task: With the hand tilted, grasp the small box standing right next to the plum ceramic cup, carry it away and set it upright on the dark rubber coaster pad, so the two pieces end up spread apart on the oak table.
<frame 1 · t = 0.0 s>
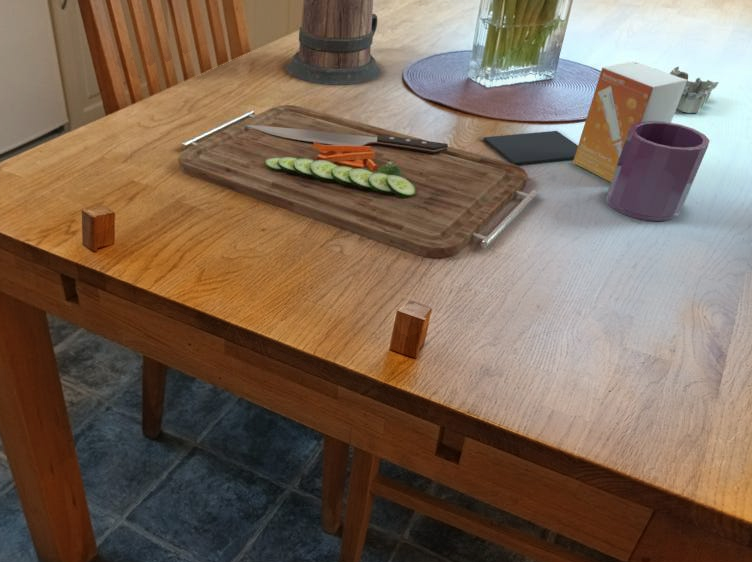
tankard: (341, 65, 131), on the table
plum cup: (642, 204, 90), on the table
small box: (610, 172, 97), on the table
egg carton: (681, 103, 119), on the table
coaster pad: (536, 148, 103), on the table
chopping board: (349, 174, 95), on the table
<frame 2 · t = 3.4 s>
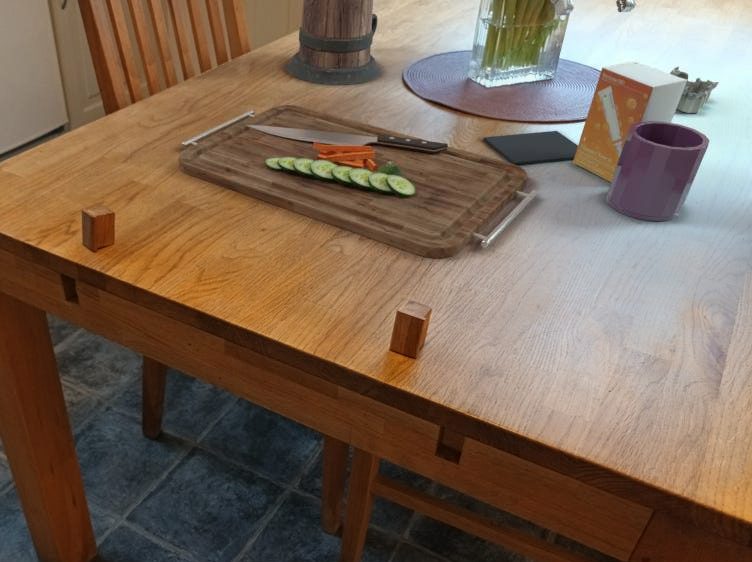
hand: (596, 11, 95), 17 cm above the table, tool tilted 45°, fingers open, 8 cm apart
nothing on the table moved.
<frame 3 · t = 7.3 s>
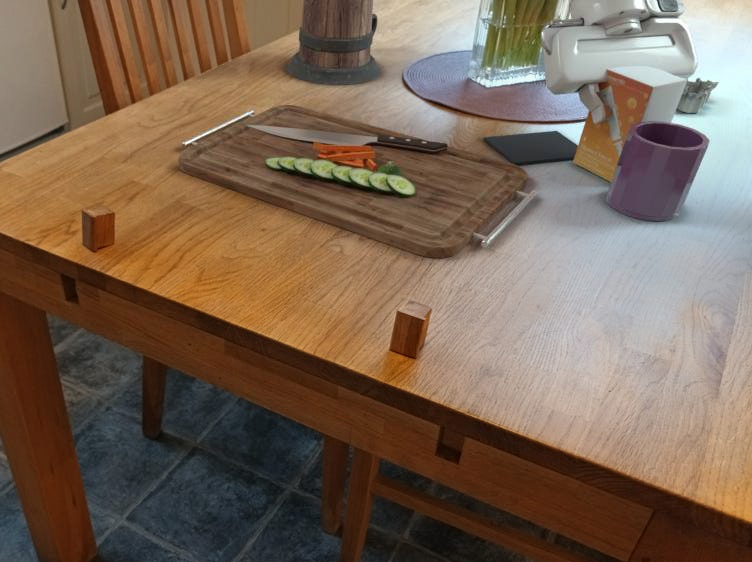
hand: (631, 119, 92), 7 cm above the table, tool tilted 45°, fingers closed on small box, 7 cm apart
small box: (610, 172, 97), on the table, touching gripper
everything else where it was.
when the fingers open (8 cm above the table, at t = 14.2 s): small box stays where it is, resting on coaster pad.
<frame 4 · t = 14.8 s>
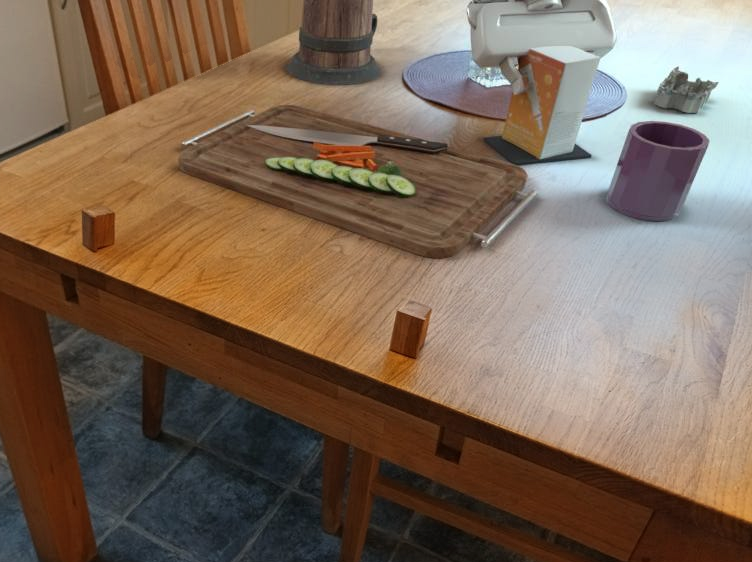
hand: (553, 90, 97), 8 cm above the table, tool tilted 45°, fingers open, 8 cm apart
small box: (535, 147, 102), resting on coaster pad
everything else where it was.
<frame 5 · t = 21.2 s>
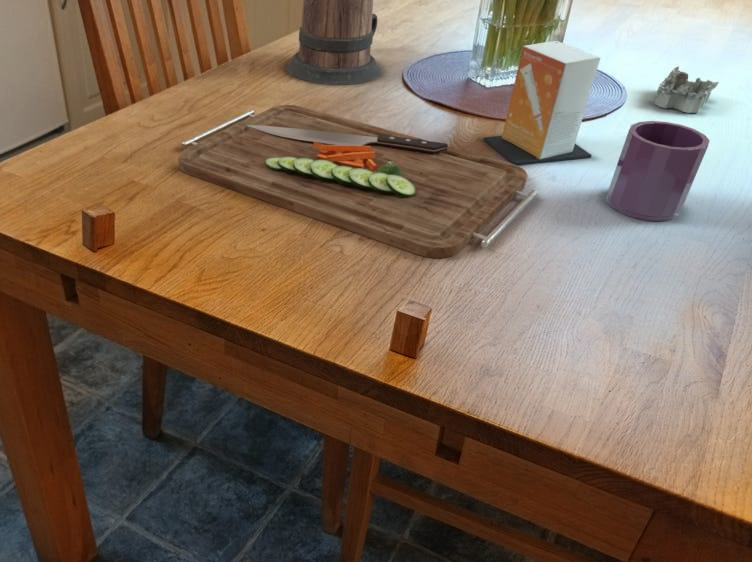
nothing on the table moved.
at the end: small box 0.1 cm from the target spot, resting on coaster pad; small box tilted 0°; plum cup moved 0.0 cm from its start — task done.
